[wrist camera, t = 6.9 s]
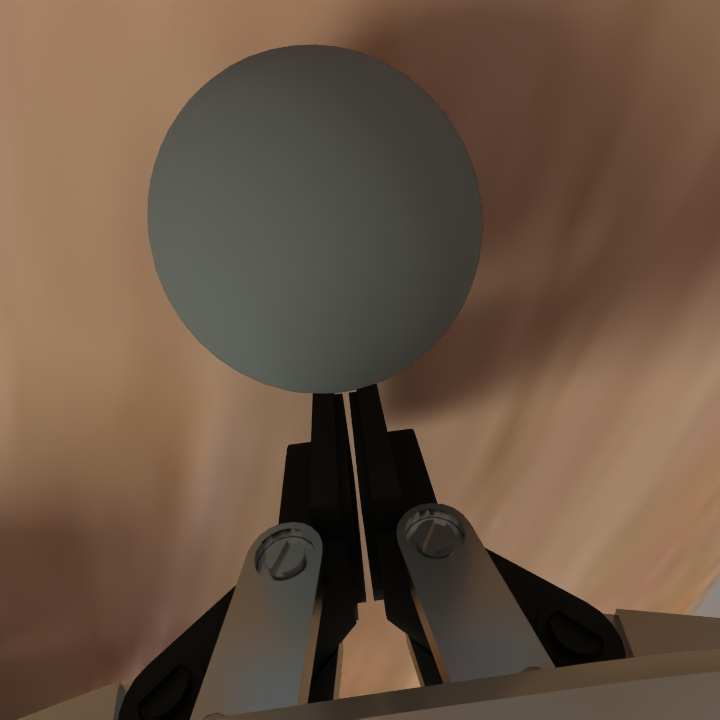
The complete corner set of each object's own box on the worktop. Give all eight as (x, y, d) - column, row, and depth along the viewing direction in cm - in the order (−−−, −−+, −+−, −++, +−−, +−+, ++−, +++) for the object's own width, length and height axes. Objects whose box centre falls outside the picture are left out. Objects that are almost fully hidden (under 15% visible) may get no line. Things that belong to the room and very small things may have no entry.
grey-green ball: (607, 262, 4) (474, -68, 6) (24, 339, 4) (78, -30, 6) (472, 404, 9) (423, 202, 11) (219, 440, 9) (213, 228, 11)
